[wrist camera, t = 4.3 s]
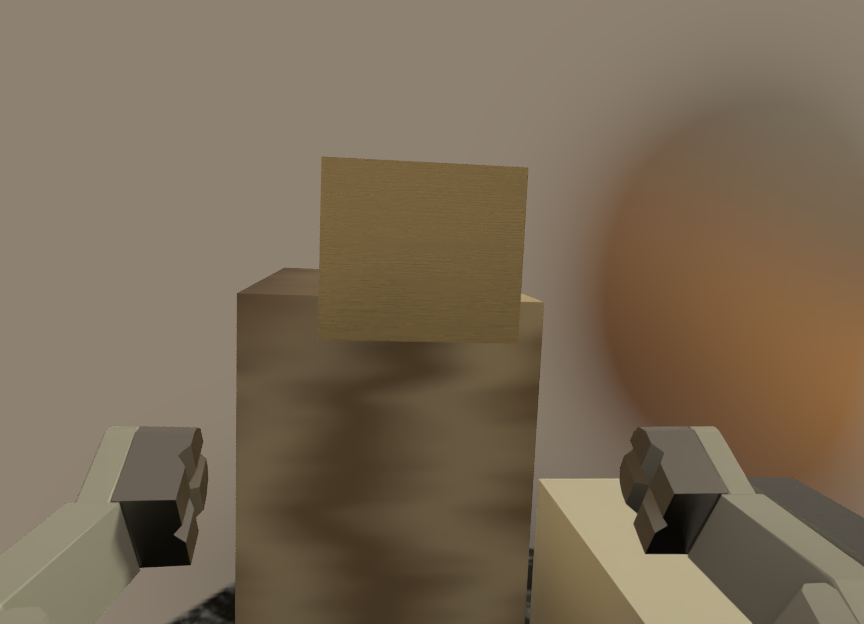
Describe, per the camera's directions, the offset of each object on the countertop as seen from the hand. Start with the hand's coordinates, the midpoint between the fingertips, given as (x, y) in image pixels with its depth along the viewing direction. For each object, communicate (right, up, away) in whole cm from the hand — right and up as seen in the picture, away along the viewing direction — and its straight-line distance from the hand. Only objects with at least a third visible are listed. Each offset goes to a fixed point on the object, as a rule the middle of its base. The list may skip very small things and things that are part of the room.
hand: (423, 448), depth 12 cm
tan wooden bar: (-1, +3, +11) cm, 12 cm away
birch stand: (-3, -22, +19) cm, 29 cm away
